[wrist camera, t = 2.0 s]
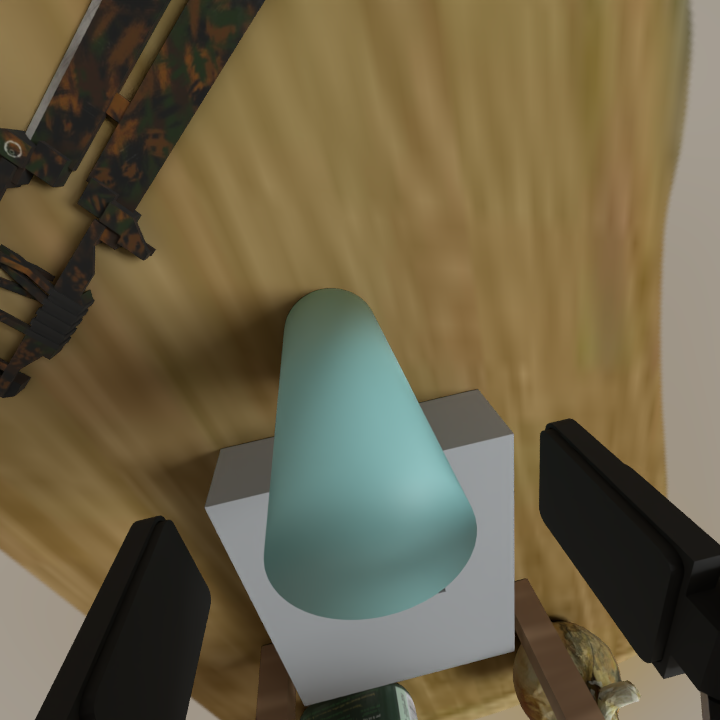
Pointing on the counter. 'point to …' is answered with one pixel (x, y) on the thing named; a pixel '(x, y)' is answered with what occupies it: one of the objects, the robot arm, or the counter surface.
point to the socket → (406, 628)
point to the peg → (356, 473)
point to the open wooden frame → (537, 637)
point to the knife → (108, 145)
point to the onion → (593, 668)
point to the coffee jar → (366, 706)
